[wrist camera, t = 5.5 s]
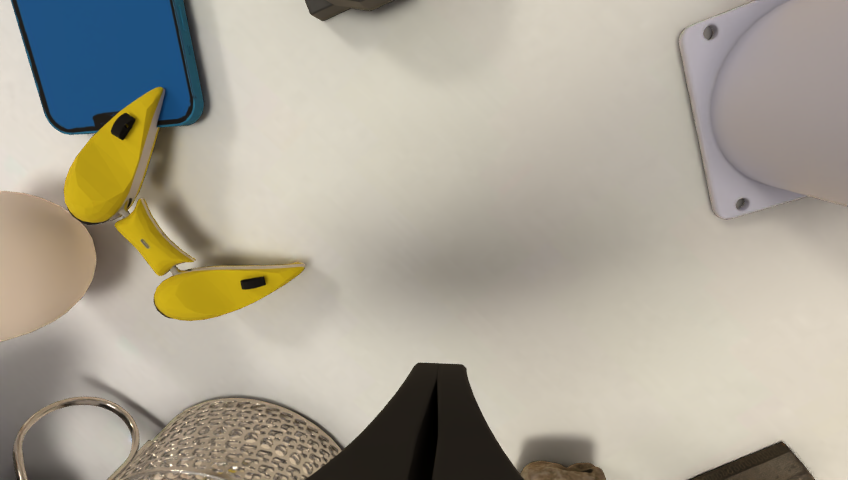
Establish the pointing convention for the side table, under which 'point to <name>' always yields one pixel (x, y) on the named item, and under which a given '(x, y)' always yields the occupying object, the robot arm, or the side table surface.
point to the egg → (40, 263)
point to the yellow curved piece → (116, 192)
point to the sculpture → (561, 471)
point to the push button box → (340, 6)
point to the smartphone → (109, 59)
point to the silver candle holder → (213, 443)
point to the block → (762, 467)
